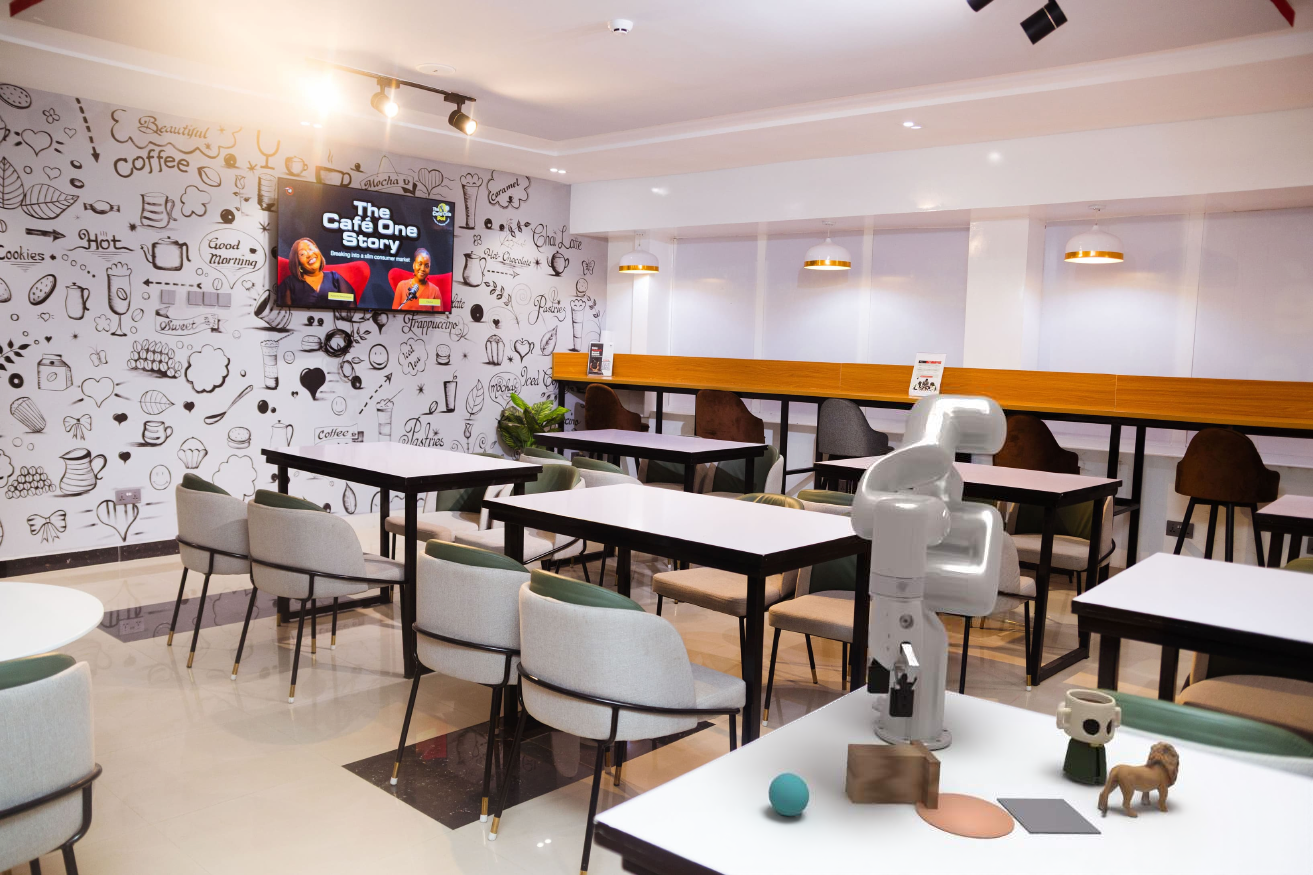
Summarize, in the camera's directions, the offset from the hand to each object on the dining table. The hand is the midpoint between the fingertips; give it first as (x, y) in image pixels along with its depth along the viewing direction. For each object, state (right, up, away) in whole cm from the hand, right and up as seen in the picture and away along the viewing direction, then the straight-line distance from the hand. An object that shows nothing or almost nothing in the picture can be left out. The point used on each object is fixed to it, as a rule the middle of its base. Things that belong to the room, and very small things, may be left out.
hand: (888, 704), depth 132 cm
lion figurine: (+36, -16, +2) cm, 40 cm away
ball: (-15, -11, -6) cm, 19 cm away
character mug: (+33, -15, +11) cm, 38 cm away
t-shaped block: (-1, -14, +1) cm, 14 cm away
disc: (+10, -15, -3) cm, 18 cm away
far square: (+22, -15, -2) cm, 26 cm away
